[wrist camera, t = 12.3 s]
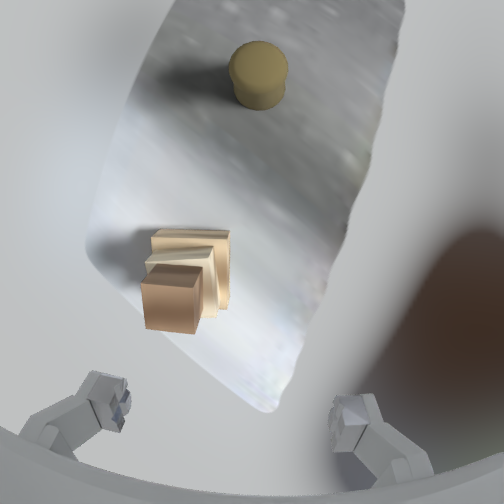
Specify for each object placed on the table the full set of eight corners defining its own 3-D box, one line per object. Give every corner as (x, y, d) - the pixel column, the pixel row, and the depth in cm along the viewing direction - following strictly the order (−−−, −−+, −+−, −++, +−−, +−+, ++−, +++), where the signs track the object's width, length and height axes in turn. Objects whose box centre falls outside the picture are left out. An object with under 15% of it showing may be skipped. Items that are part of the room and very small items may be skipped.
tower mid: (156, 249, 36) (144, 261, 32) (213, 245, 36) (208, 258, 32) (166, 302, 38) (157, 318, 34) (220, 300, 38) (216, 317, 34)
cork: (224, 98, 33) (209, 80, 23) (246, 55, 31) (240, 22, 21) (272, 118, 34) (276, 108, 24) (293, 75, 32) (306, 49, 22)
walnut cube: (156, 263, 32) (140, 283, 27) (202, 266, 32) (193, 288, 27) (159, 304, 34) (145, 328, 29) (203, 308, 34) (194, 334, 29)
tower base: (161, 228, 39) (150, 237, 35) (230, 229, 39) (226, 239, 35) (165, 291, 42) (157, 305, 38) (230, 294, 42) (227, 309, 38)
